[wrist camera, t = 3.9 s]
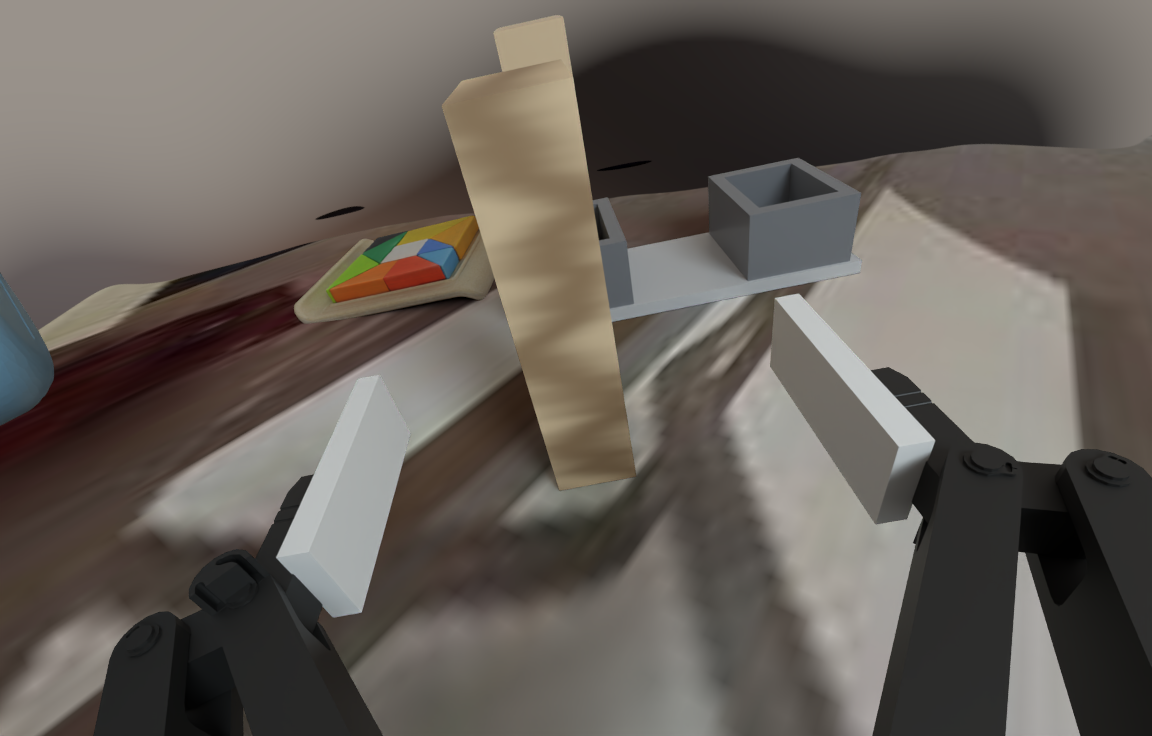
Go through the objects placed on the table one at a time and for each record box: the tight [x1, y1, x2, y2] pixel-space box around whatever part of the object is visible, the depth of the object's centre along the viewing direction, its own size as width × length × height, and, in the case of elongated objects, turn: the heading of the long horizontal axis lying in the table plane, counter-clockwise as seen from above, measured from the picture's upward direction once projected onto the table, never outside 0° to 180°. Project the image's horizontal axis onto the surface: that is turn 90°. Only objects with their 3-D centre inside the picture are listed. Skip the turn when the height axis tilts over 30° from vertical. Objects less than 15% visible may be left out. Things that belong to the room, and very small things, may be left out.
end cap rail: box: [493, 15, 862, 322], centre depth 36 cm, size 25×10×19 cm, turn 96°
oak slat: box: [442, 59, 636, 491], centre depth 23 cm, size 4×6×18 cm, turn 5°
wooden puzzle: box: [294, 216, 495, 323], centre depth 52 cm, size 17×19×4 cm
